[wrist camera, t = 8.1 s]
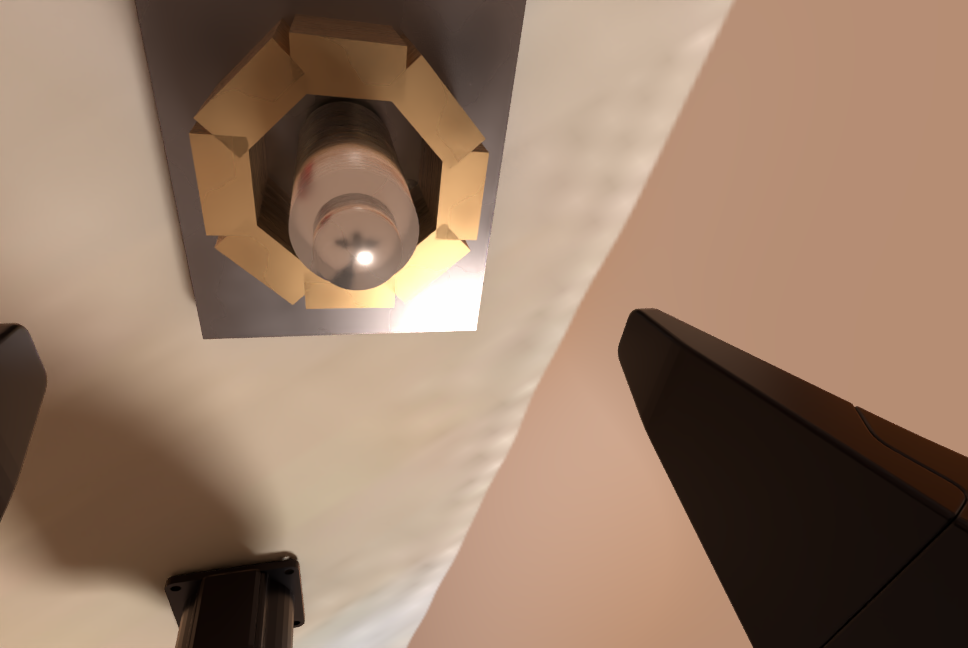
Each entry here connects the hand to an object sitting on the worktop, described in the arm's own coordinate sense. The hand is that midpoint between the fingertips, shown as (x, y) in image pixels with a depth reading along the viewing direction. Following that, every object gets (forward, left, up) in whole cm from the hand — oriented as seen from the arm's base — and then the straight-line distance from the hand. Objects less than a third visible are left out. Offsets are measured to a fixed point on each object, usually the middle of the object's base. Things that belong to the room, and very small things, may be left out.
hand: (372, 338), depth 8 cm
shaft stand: (0, 0, -11) cm, 11 cm away
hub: (0, 0, -10) cm, 10 cm away
